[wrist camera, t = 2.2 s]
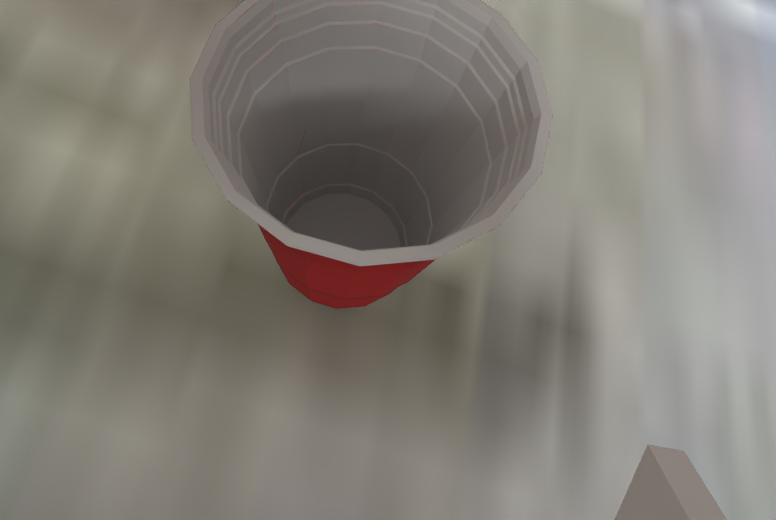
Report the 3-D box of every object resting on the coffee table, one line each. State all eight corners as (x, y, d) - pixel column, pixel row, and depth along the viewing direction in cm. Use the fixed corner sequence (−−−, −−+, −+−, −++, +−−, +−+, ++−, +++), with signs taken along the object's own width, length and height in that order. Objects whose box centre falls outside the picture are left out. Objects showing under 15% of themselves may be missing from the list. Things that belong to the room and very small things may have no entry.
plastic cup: (290, 104, 34) (302, -106, 23) (490, 207, 34) (600, 45, 23) (163, 290, 30) (103, 141, 19) (392, 411, 29) (468, 332, 18)
